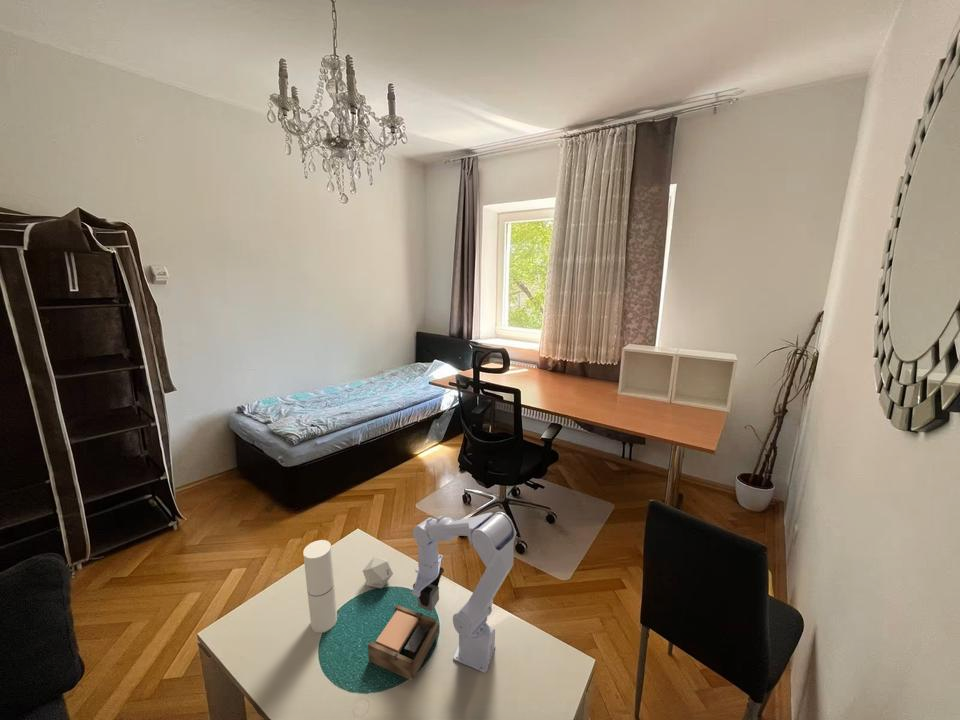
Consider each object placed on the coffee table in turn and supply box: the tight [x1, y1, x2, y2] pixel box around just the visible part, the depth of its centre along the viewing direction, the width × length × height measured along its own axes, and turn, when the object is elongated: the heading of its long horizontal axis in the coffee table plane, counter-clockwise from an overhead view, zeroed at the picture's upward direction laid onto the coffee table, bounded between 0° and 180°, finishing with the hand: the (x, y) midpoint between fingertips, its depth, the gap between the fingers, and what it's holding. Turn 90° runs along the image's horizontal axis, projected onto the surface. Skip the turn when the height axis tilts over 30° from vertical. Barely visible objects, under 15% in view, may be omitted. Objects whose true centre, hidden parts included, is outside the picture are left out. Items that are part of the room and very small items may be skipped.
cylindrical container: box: [302, 539, 338, 634], centre depth 107 cm, size 7×7×25 cm
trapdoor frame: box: [367, 604, 440, 681], centre depth 102 cm, size 14×13×6 cm
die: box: [362, 556, 394, 589], centre depth 124 cm, size 8×9×10 cm
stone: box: [417, 584, 440, 612], centre depth 111 cm, size 4×4×4 cm
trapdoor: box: [375, 610, 428, 659], centre depth 102 cm, size 11×10×2 cm
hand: (429, 597), depth 111 cm, fingers closed on stone, 4 cm apart
